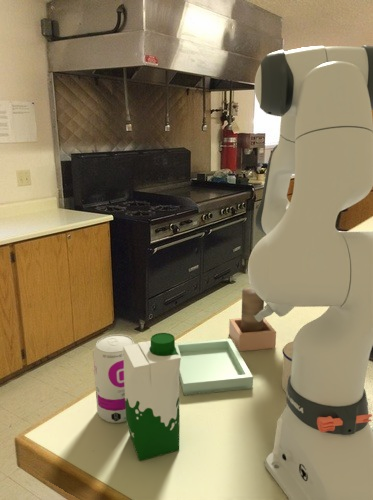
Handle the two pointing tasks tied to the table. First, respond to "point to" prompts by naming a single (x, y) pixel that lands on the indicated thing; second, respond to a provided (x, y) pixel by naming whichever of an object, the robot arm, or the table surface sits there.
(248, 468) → the table surface
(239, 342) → the terracotta holder
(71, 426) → the table surface
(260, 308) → the walnut canister
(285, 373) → the teacup with lid
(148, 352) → the milk carton
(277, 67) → the robot arm
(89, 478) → the table surface
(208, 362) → the sage tray
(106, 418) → the supplement can
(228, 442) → the table surface
